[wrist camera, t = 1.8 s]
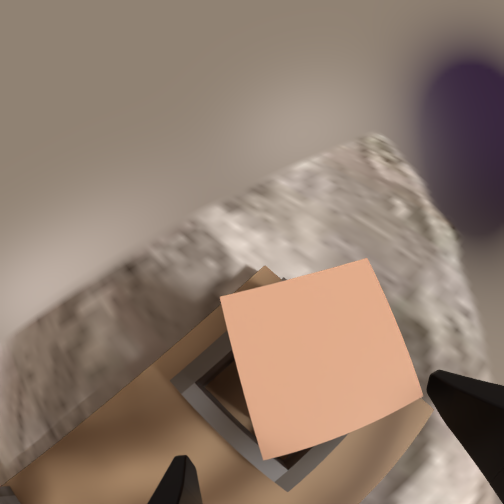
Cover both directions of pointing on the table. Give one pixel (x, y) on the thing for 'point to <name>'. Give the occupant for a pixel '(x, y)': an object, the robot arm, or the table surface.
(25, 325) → the table surface
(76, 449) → the puzzle board
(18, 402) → the table surface
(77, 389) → the table surface
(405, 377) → the block
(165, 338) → the table surface
